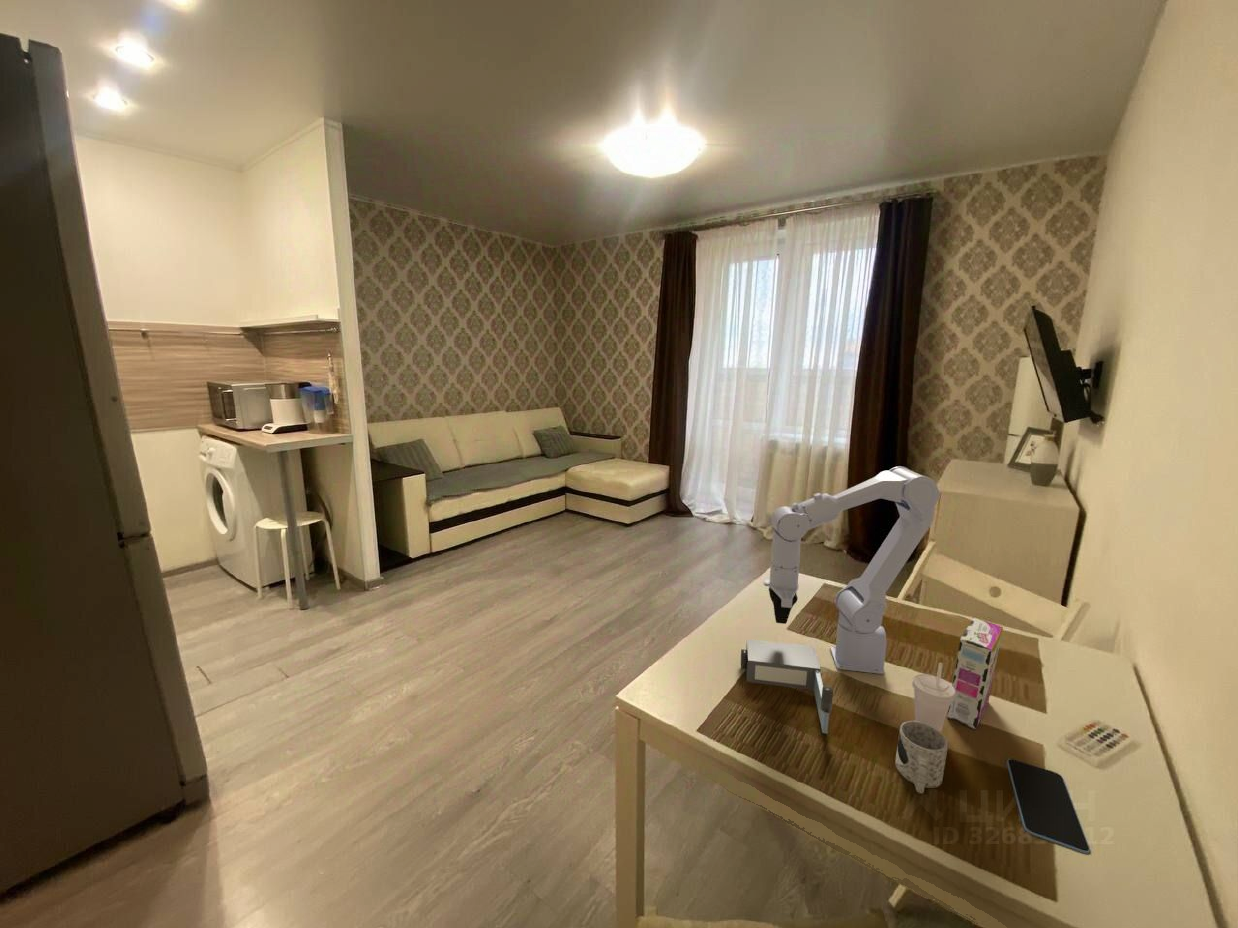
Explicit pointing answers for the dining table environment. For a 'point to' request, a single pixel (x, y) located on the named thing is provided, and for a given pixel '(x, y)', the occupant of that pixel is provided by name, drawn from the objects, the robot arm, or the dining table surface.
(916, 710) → the smoothie
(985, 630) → the candy bar box
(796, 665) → the camera housing
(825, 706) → the side door
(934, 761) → the mug
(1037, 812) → the smartphone
